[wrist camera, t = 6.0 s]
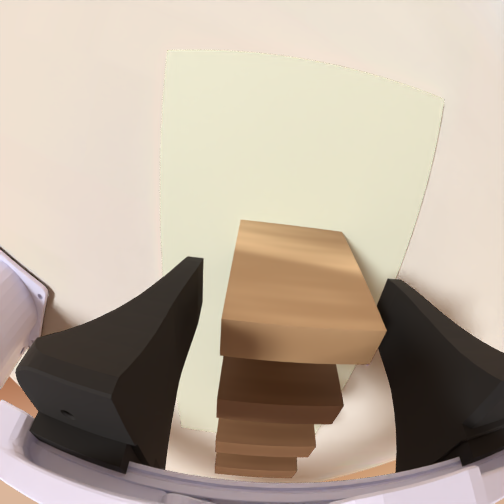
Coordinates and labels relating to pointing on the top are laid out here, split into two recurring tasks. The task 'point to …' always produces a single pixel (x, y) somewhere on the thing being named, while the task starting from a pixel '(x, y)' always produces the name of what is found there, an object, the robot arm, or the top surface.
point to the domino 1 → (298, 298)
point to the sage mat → (283, 175)
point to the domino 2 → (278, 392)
